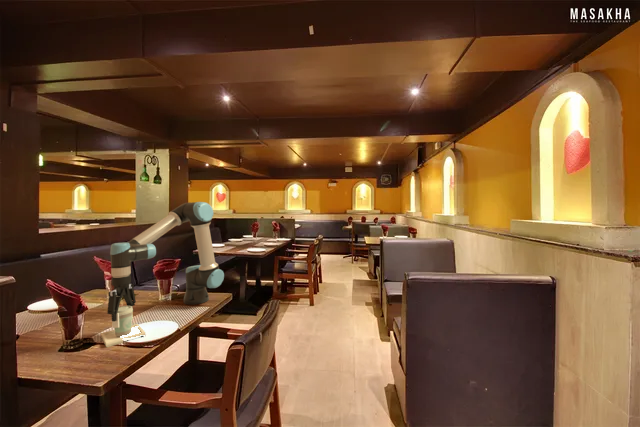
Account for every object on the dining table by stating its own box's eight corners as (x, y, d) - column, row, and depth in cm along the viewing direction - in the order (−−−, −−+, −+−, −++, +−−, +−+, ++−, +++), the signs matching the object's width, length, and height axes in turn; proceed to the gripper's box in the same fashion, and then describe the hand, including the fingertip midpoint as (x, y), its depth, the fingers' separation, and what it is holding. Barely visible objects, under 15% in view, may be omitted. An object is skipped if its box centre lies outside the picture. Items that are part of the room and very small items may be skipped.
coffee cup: (122, 338, 130) (122, 312, 130) (107, 336, 132) (106, 311, 132) (138, 330, 139) (137, 305, 138) (123, 329, 140) (122, 304, 140)
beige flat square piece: (137, 327, 146) (137, 323, 146) (145, 336, 135) (145, 332, 135) (100, 337, 135) (100, 333, 135) (106, 347, 125) (106, 343, 125)
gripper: (128, 271, 146) (130, 315, 146) (95, 281, 124) (97, 333, 125) (143, 270, 145) (144, 314, 146) (112, 281, 124) (114, 333, 125)
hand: (122, 323), depth 135 cm, fingers closed on coffee cup, 8 cm apart
